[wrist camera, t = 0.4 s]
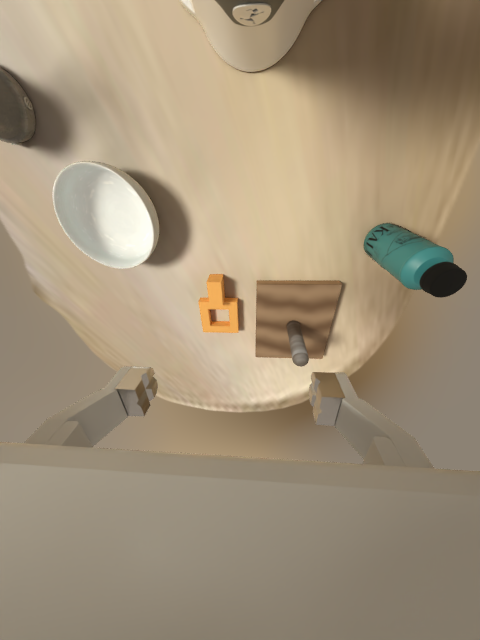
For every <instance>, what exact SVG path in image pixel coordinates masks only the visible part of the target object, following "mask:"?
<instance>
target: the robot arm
mask: <svg viewBox="0 0 480 640" xmlns="http://www.w3.org/2000/svg"><path fill="white" fill-rule="evenodd" d="M179 1H180V3H181V4H182V6H183V7H184V8H185V9H186V10H187V11H188V12H189V13H190V14H191V15H192V16H193V17H194V18H196V19H197V20H198V22H199V23H200V24H201V26H202V28H203V30H204V32H205V34H206V36H207V38H208V40H209V42H210V43H211V45H212V47H213V48H214V50H215V51H216V52H217V54H218V55H219V56H220V57H221V58H222V59H223V60H224V61H225V62H226V63H228V64H229V65H231V66H232V67H234V68H236V69H238V70H241V71H246V72H256V71H261V70H264V69H266V68H269V67H270V66H272V65H274V64H275V63H276V62H278V61H279V60H280V59H281V58H282V57H283V56H284V55H285V54H286V53H287V52H288V51H289V49H290V48H291V47H292V45H293V44H294V42H295V40H296V39H297V37H298V35H299V33H300V31H301V29H302V27H303V25H304V23H305V21H306V19H307V17H308V16H309V14H310V13H311V11H312V10H313V9H314V8H315V7H316V6H317V5H318V4H319V3H320V2H321V1H322V0H179ZM154 374H155V373H154V370H153V368H151V367H129V366H124V367H121V368H120V370H119V371H118V372H117V373H116V374H115V376H114V377H113V378H112V379H111V381H110V382H109V383H108V384H107V386H106V387H105V388H104V389H100V390H98V391H96V392H94V393H92V394H91V395H89V396H87V397H85V398H83V399H82V400H80V401H78V402H76V403H75V404H73V405H71V406H69V407H67V408H66V409H64V410H62V411H60V412H58V413H57V414H55V415H53V416H51V417H49V418H48V419H46V421H45V422H44V423H43V424H42V425H41V426H40V427H39V428H38V429H37V430H36V431H35V432H34V433H33V434H32V435H31V436H30V437H29V438H28V439H27V440H26V441H25V442H24V443H10V442H0V640H480V471H467V470H450V469H435V468H434V467H433V465H432V464H431V462H430V461H429V459H428V458H427V456H426V455H425V453H424V451H423V450H422V448H421V447H420V446H419V444H418V442H417V441H416V439H415V438H414V437H413V436H411V435H410V434H409V433H407V432H406V431H405V430H403V429H402V428H401V427H399V426H398V425H397V424H395V423H394V422H392V421H391V420H390V419H388V418H387V417H386V416H384V415H383V414H382V413H380V412H379V411H378V410H376V409H375V408H373V407H372V406H371V405H369V404H368V403H367V402H365V401H364V400H363V399H358V397H357V395H356V393H355V391H354V389H353V387H352V385H351V383H350V381H349V379H348V377H347V375H346V374H345V373H325V372H313V373H312V375H311V380H312V383H311V384H310V387H309V398H310V403H311V405H312V406H313V407H314V408H313V415H314V419H315V422H316V424H317V425H330V426H335V428H336V429H337V430H338V431H339V432H340V433H341V434H342V436H343V437H344V438H345V439H346V440H347V441H348V442H349V443H350V444H351V446H352V447H353V448H354V449H355V450H356V451H357V452H358V454H359V455H360V456H361V457H362V458H363V459H364V461H363V464H353V463H337V462H321V461H304V460H287V459H270V458H254V457H238V456H221V455H206V454H190V453H173V452H156V451H140V450H124V449H108V448H93V446H94V445H95V444H96V443H98V442H99V441H100V440H101V439H102V438H103V437H105V436H106V435H107V434H108V433H109V432H110V431H112V430H113V429H114V428H115V427H117V426H118V425H119V424H120V423H121V422H122V421H124V420H125V419H126V418H127V417H128V416H145V414H146V412H147V410H148V409H149V407H150V402H149V401H151V400H152V399H153V398H154V397H155V395H156V393H157V388H158V384H157V380H156V379H155V378H154V377H153V375H154Z"/></svg>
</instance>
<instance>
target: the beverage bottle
mask: <svg viewBox="0 0 480 640" xmlns="http://www.w3.org/2000/svg"><path fill="white" fill-rule="evenodd" d="M405 229H406V228H404V229H403V227H402V228H401V226H397V225H394V224H390V223H385V224H380V225H378V226H376V227H374V228H373V229H372V230H371V231H370V232H369V233H368V234H367V236H366V238H365V240H364V249H365V252H366V253H367V255H369V256H370V257H371V259H372V258H373V259H374V260H375V261H376V262H377V263H378V264H379V265H381V266H382V267H381V268H384V269H386V270H387V271H388V272H389V273H391V274H392V275H393V276H394V277H395V278H396V279H398V280H399V281H400V282H401V283H402V284H403V285H404V286H405V287H407V288H409V289H414V290H420V289H423V290H424V291H425V292H427V293H430V294H431V295H433V296H435V297H446V296H449V295H452V294H454V293H456V292H457V291H458V290H460V289H461V288H462V287H463V285H464V284H465V282H466V280H467V275H466V273H465V271H464V270H462V269H461V268H459V267H458V266H457V265H456V264H454V263H453V255H452V253H451V252H450V251H449V250H448V249H446V248H444V247H441V246H438V245H436V244H434V243H432V242H431V241H429V240H426V239H424V238H425V237H423V236H422V237H423V238H422V237H421V236H418V234H417V235H416V234H414V233H412V232H411V231H409V230H408V231H407V229H406V230H405Z"/></svg>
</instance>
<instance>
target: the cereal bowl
mask: <svg viewBox="0 0 480 640" xmlns="http://www.w3.org/2000/svg"><path fill="white" fill-rule="evenodd" d="M53 204H54V209H55V213H56V216H57V218H58V220H59V223H60V225H61V226H62V228H63V230H64V231H65V233H66V234H67V236H68V237H69V238H70V240H71V241H72V242H73V243H74V244H75V245H76V246H77V247H78V248H79V249H80V250H81V251H82V252H84V253H85V254H86V255H87V256H89V257H90V258H92V259H93V260H95V261H97V262H99V263H101V264H103V265H106V266H109V267H113V268H119V269H127V268H132V267H136V266H138V265H140V264H142V263H143V262H145V261H146V260H147V259H148V258H149V257H150V256H151V254H152V253H153V251H154V250H155V247H156V245H157V243H158V238H159V221H158V216H157V213H156V210H155V208H154V205H153V203H152V201H151V199H150V198H149V196H148V195H147V193H146V192H145V191H144V189H143V188H142V187H141V186H140V185H139V184H138V183H137V182H136V181H135V180H134V179H133V178H132V177H131V176H129V175H128V174H126V173H125V172H123V171H121V170H119V169H117V168H116V167H113V166H111V165H108V164H105V163H100V162H93V161H92V162H91V161H82V162H76V163H73V164H70V165H68V166H66V167H65V168H64V169H63V170H62V171H61V172H60V173H59V174H58V176H57V178H56V180H55V183H54V186H53Z"/></svg>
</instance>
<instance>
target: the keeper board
mask: <svg viewBox="0 0 480 640" xmlns="http://www.w3.org/2000/svg"><path fill="white" fill-rule="evenodd" d="M341 287H342V284H341V282H340V281H257V301H256V357H274V358H292V360H293V362H294V364H296V365H297V366H305V365H306V364H307V363H308V360H309V358H314V359H322V358H323V355H324V351H325V347H326V343H327V340H328V336H329V332H330V328H331V325H332V321H333V317H334V313H335V310H336V306H337V302H338V298H339V295H340V291H341Z"/></svg>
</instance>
